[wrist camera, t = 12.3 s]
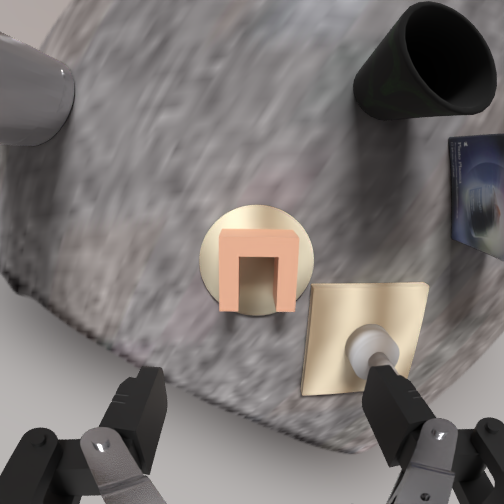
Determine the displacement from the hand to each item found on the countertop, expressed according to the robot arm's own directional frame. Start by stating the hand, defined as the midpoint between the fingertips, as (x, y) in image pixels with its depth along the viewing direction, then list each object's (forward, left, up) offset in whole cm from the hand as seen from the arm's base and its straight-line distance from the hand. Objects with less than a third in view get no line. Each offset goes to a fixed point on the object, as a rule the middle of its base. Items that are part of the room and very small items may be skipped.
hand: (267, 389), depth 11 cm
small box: (+22, +8, -18) cm, 30 cm away
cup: (+11, +16, -18) cm, 26 cm away
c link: (0, 0, -17) cm, 17 cm away
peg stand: (+11, -8, -18) cm, 22 cm away
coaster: (0, 0, -18) cm, 18 cm away
